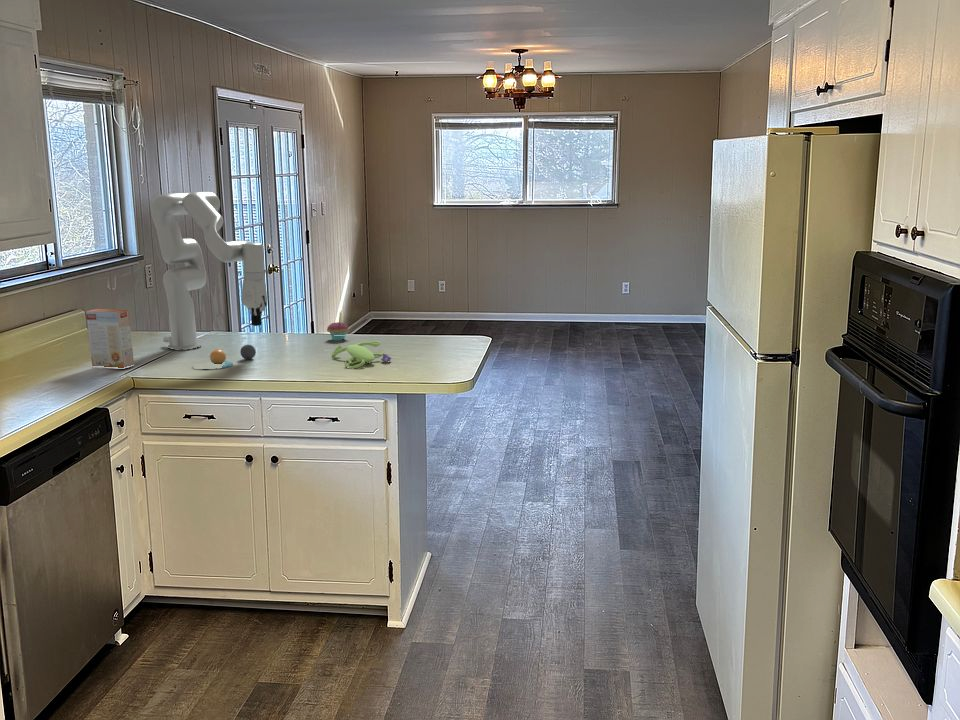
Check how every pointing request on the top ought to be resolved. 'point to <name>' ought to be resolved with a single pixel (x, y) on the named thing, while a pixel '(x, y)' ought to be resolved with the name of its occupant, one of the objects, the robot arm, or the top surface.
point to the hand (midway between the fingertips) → (256, 325)
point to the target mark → (227, 364)
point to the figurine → (361, 353)
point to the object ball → (217, 356)
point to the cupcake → (337, 329)
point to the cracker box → (110, 338)
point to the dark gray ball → (248, 351)
